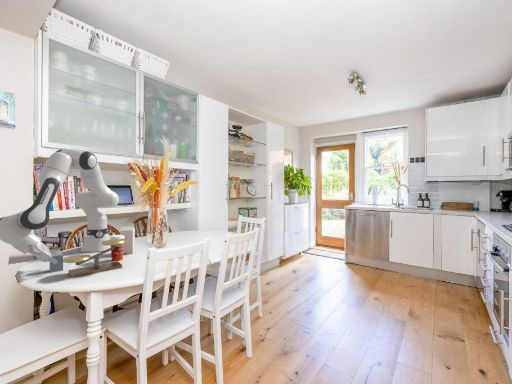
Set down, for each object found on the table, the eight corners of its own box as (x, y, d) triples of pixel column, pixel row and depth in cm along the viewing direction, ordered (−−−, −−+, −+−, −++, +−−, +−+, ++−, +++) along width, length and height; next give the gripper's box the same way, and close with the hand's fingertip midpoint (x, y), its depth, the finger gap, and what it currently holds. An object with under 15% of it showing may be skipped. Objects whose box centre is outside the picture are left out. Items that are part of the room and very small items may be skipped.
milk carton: (132, 253, 158) (132, 224, 158) (120, 254, 156) (120, 224, 156) (134, 250, 165) (134, 222, 164) (122, 251, 163) (123, 222, 162)
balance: (61, 273, 122) (61, 245, 122) (122, 262, 141) (122, 238, 140) (64, 280, 114) (64, 250, 114) (128, 267, 133) (128, 241, 132)
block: (49, 269, 127) (49, 254, 126) (62, 267, 130) (61, 252, 130) (50, 272, 123) (50, 256, 123) (63, 270, 126) (63, 254, 126)
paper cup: (118, 262, 141) (118, 237, 141) (106, 260, 143) (106, 236, 142) (127, 258, 149) (127, 234, 148) (116, 257, 150) (116, 234, 150)
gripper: (36, 242, 113) (63, 260, 120) (35, 235, 128) (59, 251, 135) (23, 254, 110) (51, 271, 117) (23, 245, 125) (48, 260, 132)
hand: (55, 260), depth 126 cm, fingers open, 8 cm apart
